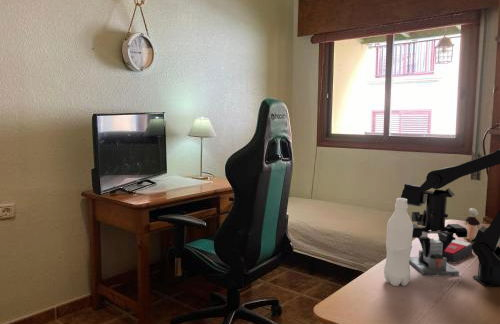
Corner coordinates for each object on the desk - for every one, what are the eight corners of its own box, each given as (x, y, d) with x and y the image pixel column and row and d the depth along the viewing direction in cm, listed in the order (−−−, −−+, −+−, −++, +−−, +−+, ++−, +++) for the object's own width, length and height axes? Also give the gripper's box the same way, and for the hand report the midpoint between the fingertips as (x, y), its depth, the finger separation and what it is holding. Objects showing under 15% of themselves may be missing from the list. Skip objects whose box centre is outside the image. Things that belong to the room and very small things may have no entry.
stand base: (458, 275, 126) (460, 258, 125) (423, 275, 125) (424, 258, 124) (438, 260, 138) (440, 245, 137) (406, 260, 137) (407, 245, 136)
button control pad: (421, 244, 143) (441, 234, 153) (421, 256, 144) (441, 245, 153) (454, 253, 135) (473, 242, 144) (453, 266, 136) (472, 253, 145)
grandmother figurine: (458, 237, 162) (461, 206, 160) (465, 236, 164) (467, 205, 162) (476, 243, 155) (479, 211, 154) (483, 242, 157) (486, 210, 155)
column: (441, 264, 129) (443, 243, 128) (429, 264, 129) (431, 243, 128) (435, 259, 133) (436, 238, 132) (423, 259, 133) (424, 238, 132)
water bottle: (411, 289, 115) (417, 202, 112) (384, 286, 117) (390, 201, 113) (407, 278, 122) (412, 196, 119) (382, 276, 124) (386, 195, 120)
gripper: (451, 202, 137) (447, 247, 139) (396, 202, 136) (393, 248, 138) (470, 211, 126) (466, 260, 128) (411, 211, 125) (407, 260, 127)
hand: (432, 256), depth 131 cm, fingers closed on column, 4 cm apart
